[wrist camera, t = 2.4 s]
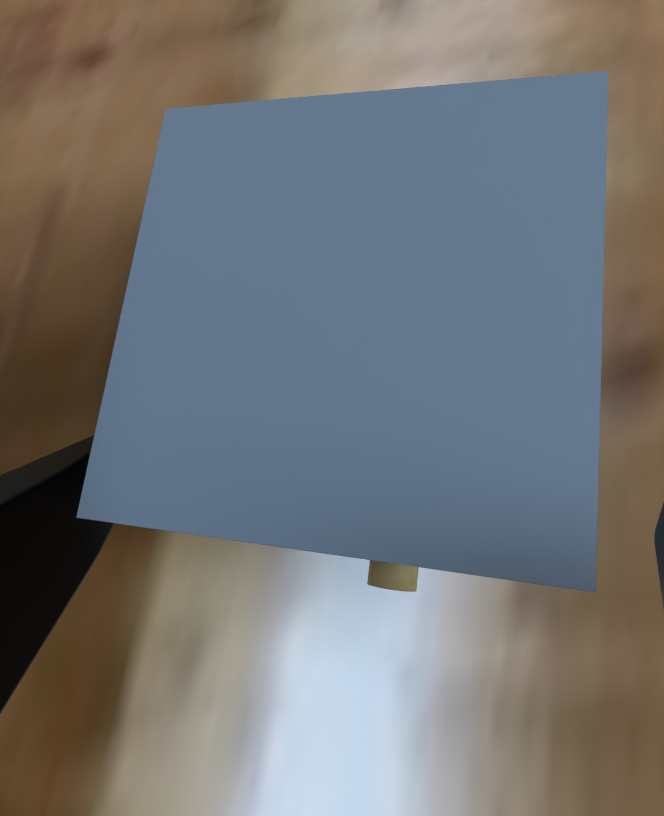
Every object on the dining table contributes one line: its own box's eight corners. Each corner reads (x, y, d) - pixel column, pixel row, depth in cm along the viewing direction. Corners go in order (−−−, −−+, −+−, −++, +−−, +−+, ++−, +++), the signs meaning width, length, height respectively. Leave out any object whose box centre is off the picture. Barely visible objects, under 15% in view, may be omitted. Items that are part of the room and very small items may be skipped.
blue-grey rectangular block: (509, 592, 16) (592, 703, 5) (318, 563, 18) (58, 600, 7) (521, 369, 18) (608, 70, 7) (343, 361, 19) (165, 108, 8)
